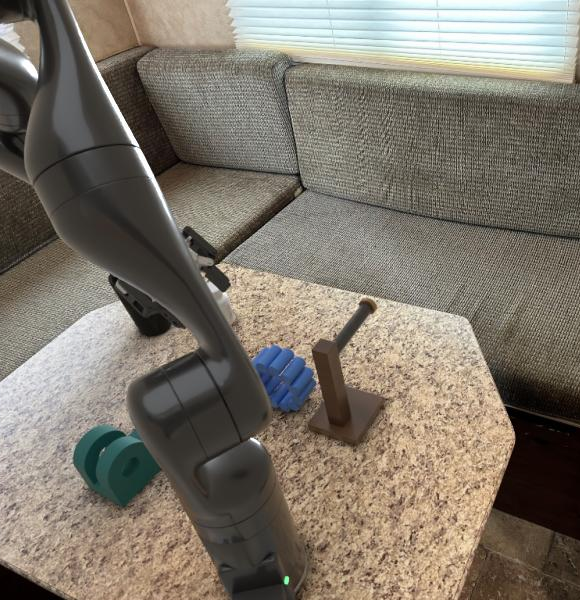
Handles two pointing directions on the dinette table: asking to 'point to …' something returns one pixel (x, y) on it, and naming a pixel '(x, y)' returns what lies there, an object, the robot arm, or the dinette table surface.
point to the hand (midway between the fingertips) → (208, 306)
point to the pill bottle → (223, 302)
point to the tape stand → (343, 386)
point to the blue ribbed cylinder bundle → (284, 377)
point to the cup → (146, 326)
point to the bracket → (114, 463)
